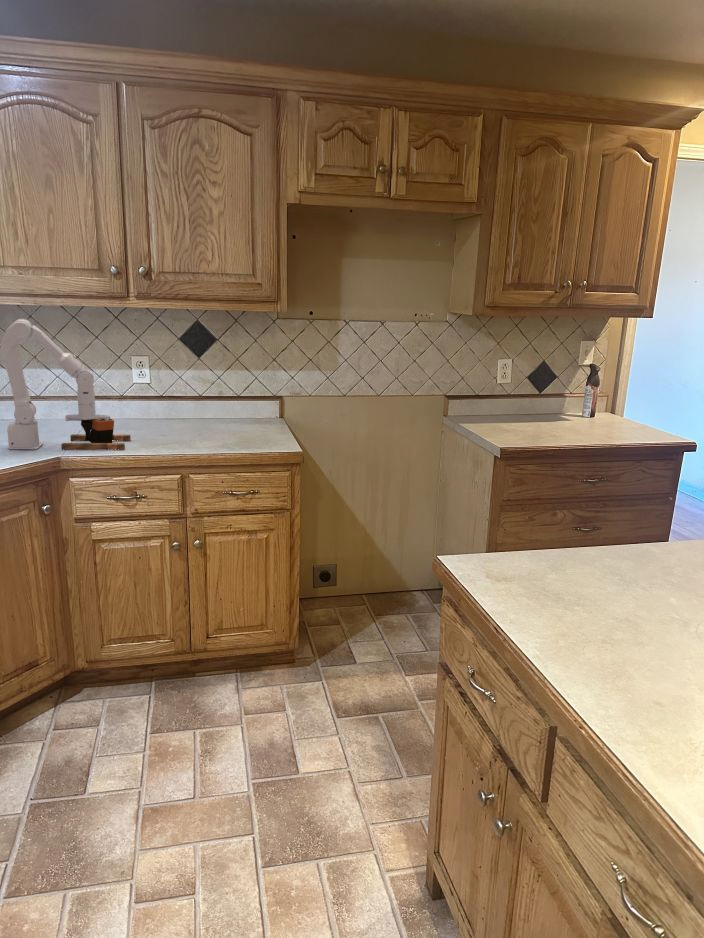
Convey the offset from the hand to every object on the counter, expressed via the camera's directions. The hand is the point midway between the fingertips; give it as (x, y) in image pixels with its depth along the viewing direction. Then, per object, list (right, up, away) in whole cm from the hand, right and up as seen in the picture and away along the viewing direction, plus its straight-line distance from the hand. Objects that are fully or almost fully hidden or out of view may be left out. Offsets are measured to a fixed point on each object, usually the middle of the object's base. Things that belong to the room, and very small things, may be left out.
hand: (88, 440), depth 246 cm
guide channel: (+3, -1, +1) cm, 3 cm away
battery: (+4, -1, +1) cm, 4 cm away
